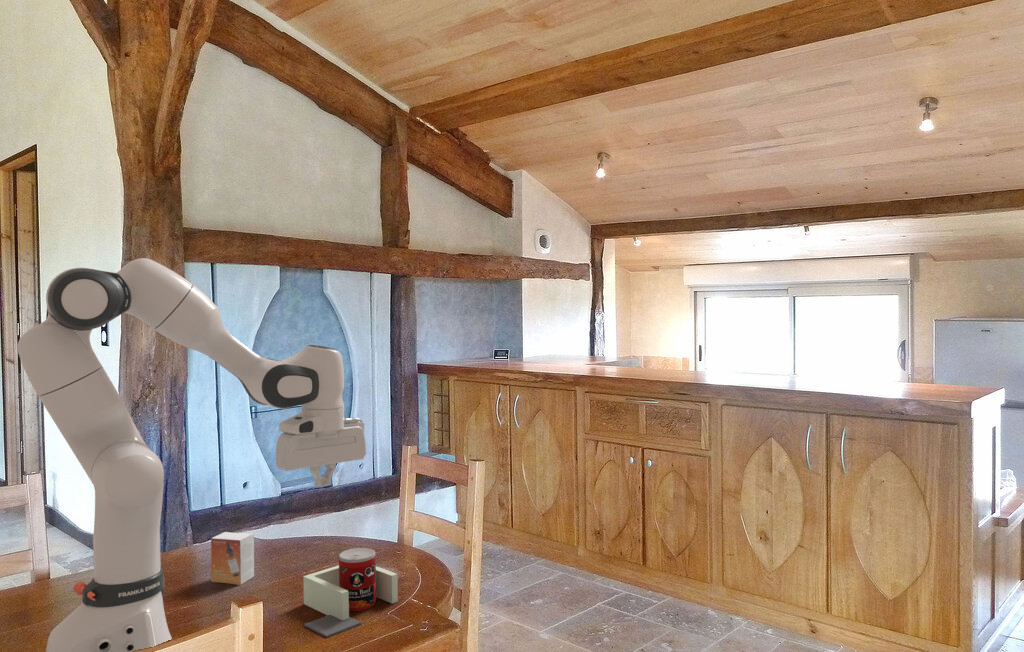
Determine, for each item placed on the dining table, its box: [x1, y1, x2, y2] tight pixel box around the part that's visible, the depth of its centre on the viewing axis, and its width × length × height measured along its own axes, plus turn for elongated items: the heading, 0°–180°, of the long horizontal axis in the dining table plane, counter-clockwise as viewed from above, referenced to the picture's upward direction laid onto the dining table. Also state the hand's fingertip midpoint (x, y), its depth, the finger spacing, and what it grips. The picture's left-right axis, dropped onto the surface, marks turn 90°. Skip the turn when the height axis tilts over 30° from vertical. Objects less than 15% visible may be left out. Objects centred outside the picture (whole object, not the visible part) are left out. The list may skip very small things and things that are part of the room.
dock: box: [302, 564, 399, 620], centre depth 156 cm, size 14×14×6 cm
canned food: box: [338, 547, 377, 612], centre depth 155 cm, size 8×8×11 cm
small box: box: [210, 531, 255, 586], centre depth 171 cm, size 8×6×10 cm
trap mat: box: [303, 615, 362, 639], centre depth 145 cm, size 8×8×1 cm
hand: (322, 485), depth 155 cm, fingers closed
